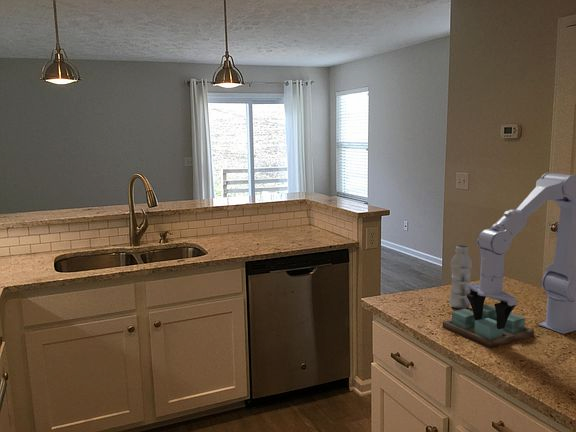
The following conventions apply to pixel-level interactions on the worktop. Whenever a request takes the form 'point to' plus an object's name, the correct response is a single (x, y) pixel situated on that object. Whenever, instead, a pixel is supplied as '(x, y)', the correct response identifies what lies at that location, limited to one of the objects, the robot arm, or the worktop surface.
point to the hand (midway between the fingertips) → (489, 323)
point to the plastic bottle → (460, 277)
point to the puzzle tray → (485, 341)
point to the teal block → (487, 329)
